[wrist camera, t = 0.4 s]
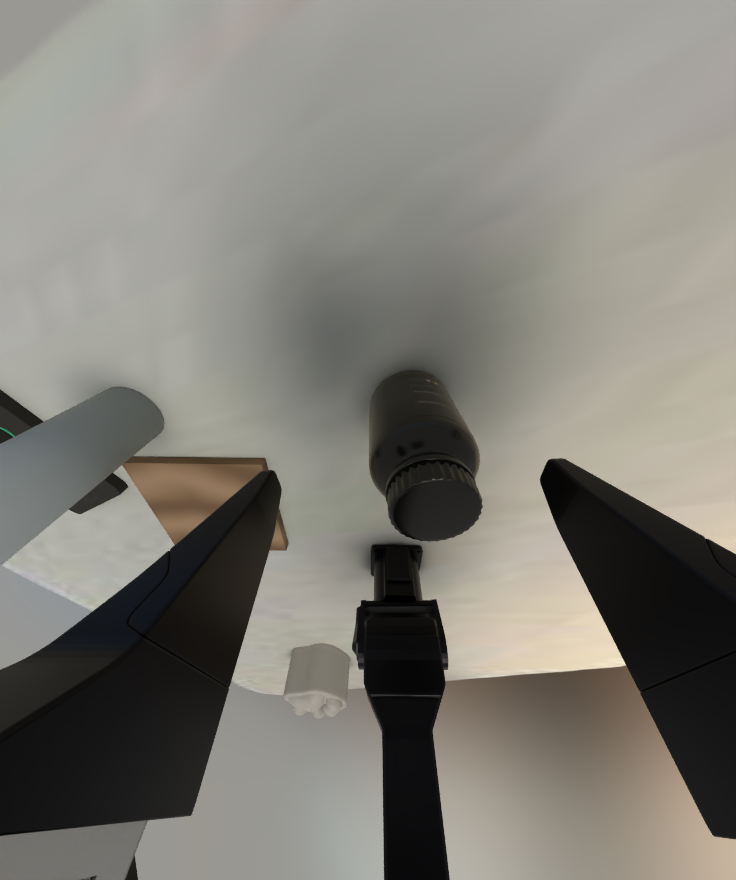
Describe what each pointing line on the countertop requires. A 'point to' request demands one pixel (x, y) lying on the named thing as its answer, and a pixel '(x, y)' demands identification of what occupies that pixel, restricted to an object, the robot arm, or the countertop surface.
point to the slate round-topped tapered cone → (68, 460)
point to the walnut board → (194, 489)
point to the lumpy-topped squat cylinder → (317, 680)
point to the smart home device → (10, 419)
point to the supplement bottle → (423, 458)
